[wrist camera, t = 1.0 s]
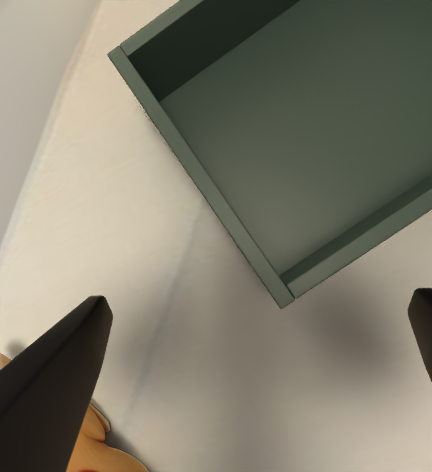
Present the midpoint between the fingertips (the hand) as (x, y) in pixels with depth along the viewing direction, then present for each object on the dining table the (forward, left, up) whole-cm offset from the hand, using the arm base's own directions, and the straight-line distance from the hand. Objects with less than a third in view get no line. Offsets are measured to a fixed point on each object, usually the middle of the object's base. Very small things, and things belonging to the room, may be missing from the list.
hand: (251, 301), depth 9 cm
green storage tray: (+11, +6, -11) cm, 17 cm away
